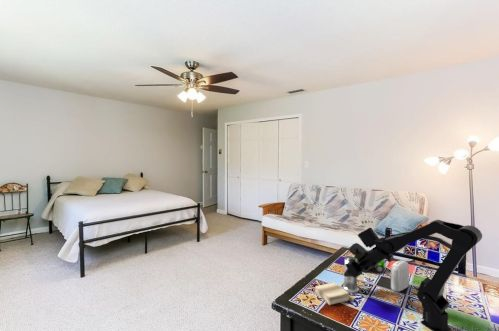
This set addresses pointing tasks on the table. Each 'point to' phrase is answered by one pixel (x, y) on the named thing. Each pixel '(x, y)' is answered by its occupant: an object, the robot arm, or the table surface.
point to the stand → (332, 293)
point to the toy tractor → (378, 268)
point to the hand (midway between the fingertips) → (350, 272)
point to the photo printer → (399, 275)
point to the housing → (350, 279)
